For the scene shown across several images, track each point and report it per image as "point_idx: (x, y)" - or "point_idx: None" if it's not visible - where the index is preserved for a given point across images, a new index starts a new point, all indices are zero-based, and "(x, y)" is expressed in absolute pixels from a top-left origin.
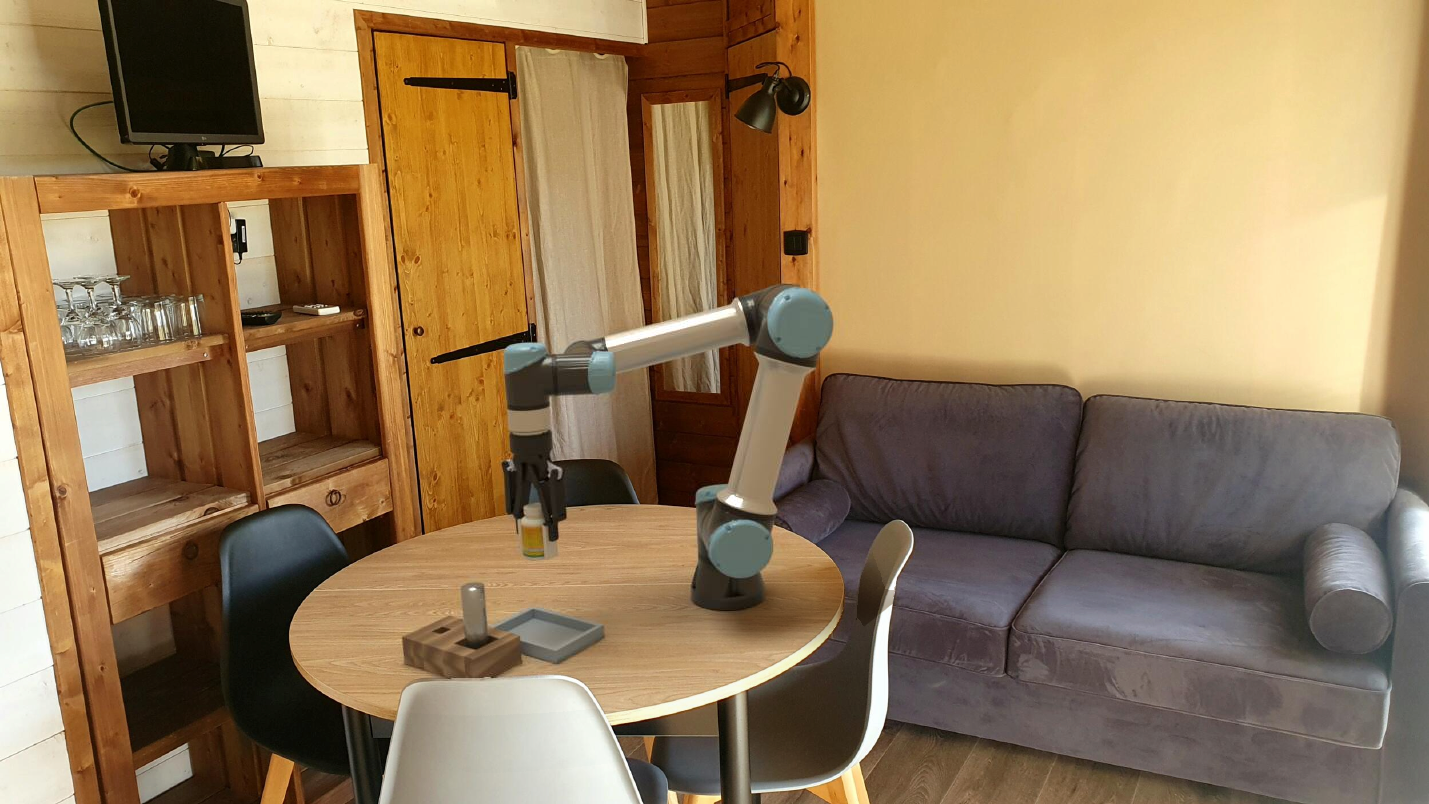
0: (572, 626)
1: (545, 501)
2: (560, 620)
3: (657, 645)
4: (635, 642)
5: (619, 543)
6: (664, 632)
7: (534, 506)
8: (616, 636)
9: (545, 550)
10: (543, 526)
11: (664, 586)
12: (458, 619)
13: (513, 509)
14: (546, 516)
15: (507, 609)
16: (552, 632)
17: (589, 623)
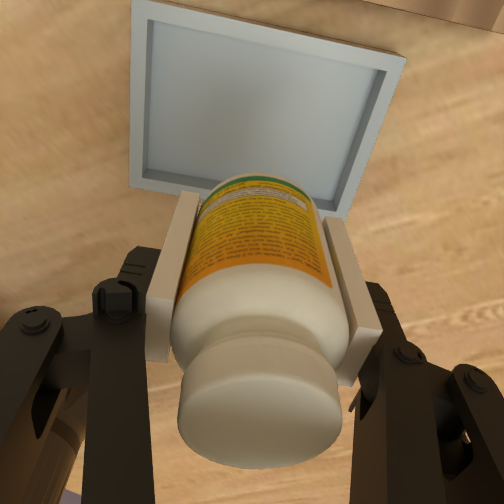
0: (218, 182)
1: (85, 464)
2: None
3: (10, 175)
4: (61, 173)
5: (334, 462)
6: (45, 230)
7: (257, 423)
8: (117, 186)
9: (183, 211)
10: (163, 291)
11: (178, 374)
12: (492, 19)
13: (441, 396)
14: (118, 345)
15: (416, 229)
16: (249, 148)
17: (163, 182)
